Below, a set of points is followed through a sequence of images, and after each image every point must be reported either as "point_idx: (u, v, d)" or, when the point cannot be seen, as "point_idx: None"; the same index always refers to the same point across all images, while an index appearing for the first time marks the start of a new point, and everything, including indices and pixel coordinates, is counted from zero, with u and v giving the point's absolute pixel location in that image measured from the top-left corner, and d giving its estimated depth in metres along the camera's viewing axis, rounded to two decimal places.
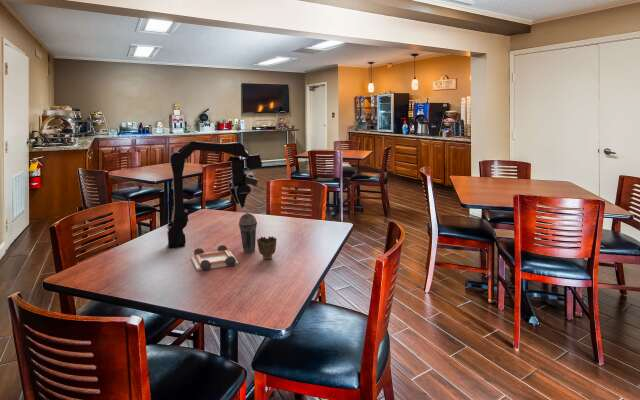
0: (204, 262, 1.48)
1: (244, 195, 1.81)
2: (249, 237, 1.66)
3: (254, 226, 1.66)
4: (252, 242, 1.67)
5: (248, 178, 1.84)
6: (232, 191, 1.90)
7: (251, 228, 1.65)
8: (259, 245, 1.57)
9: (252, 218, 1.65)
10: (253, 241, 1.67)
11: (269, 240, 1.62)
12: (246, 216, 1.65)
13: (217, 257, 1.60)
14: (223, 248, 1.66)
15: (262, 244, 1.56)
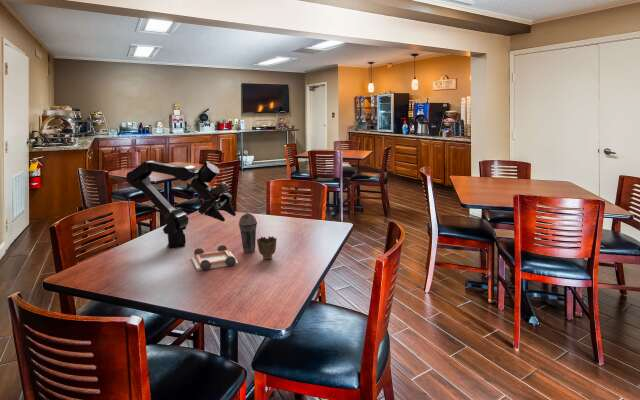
0: (204, 262, 1.48)
1: (214, 210, 1.63)
2: (249, 237, 1.66)
3: (254, 226, 1.66)
4: (252, 242, 1.67)
5: (212, 190, 1.66)
6: (223, 208, 1.75)
7: (251, 228, 1.65)
8: (259, 245, 1.57)
9: (252, 218, 1.65)
10: (253, 241, 1.67)
11: (269, 240, 1.62)
12: (246, 216, 1.65)
13: (217, 257, 1.60)
14: (223, 248, 1.66)
15: (262, 244, 1.56)
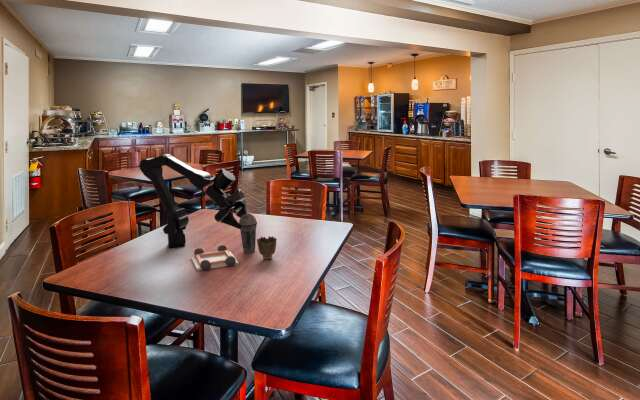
0: (204, 262, 1.48)
1: (230, 217, 1.62)
2: (249, 237, 1.66)
3: (254, 226, 1.66)
4: (252, 242, 1.67)
5: (227, 197, 1.65)
6: (238, 215, 1.73)
7: (251, 228, 1.65)
8: (259, 245, 1.57)
9: (252, 218, 1.65)
10: (253, 241, 1.67)
11: (269, 240, 1.62)
12: (246, 216, 1.65)
13: (217, 257, 1.60)
14: (223, 248, 1.66)
15: (262, 244, 1.56)
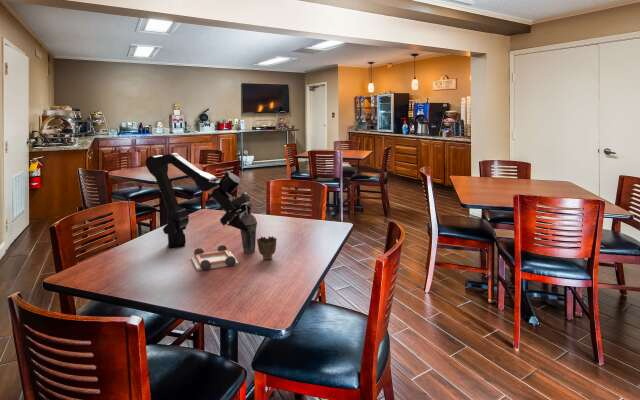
0: (204, 262, 1.48)
1: (237, 220, 1.62)
2: (249, 237, 1.66)
3: (254, 226, 1.66)
4: (252, 242, 1.67)
5: (233, 201, 1.64)
6: None
7: (251, 228, 1.65)
8: (259, 245, 1.57)
9: (252, 218, 1.65)
10: (253, 241, 1.67)
11: (269, 240, 1.62)
12: (246, 216, 1.65)
13: (217, 257, 1.60)
14: (223, 248, 1.66)
15: (262, 244, 1.56)
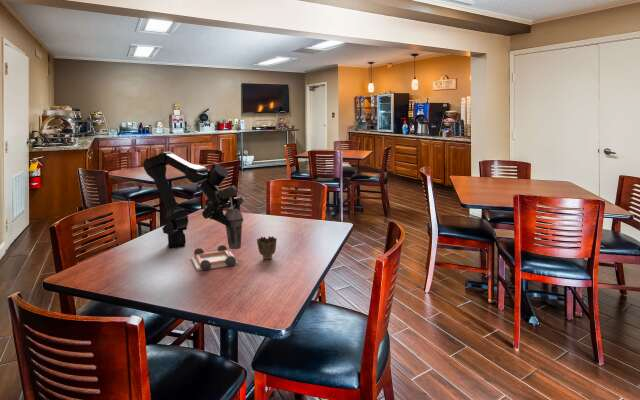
0: (204, 262, 1.48)
1: (219, 214, 1.57)
2: (233, 233, 1.59)
3: (238, 222, 1.59)
4: (237, 238, 1.60)
5: (219, 194, 1.59)
6: None
7: (235, 224, 1.58)
8: (259, 245, 1.57)
9: (236, 213, 1.58)
10: (237, 237, 1.60)
11: (269, 240, 1.62)
12: (230, 211, 1.59)
13: (217, 257, 1.60)
14: (223, 248, 1.66)
15: (262, 244, 1.56)
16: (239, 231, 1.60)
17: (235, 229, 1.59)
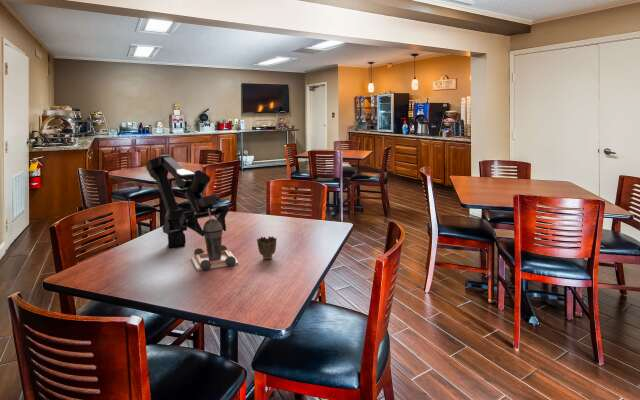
0: (204, 262, 1.48)
1: (194, 223, 1.52)
2: (210, 244, 1.54)
3: (215, 233, 1.53)
4: (214, 250, 1.55)
5: (198, 201, 1.55)
6: None
7: (211, 235, 1.53)
8: (259, 245, 1.57)
9: (213, 224, 1.53)
10: (215, 249, 1.55)
11: (269, 240, 1.62)
12: (208, 222, 1.54)
13: None
14: (223, 248, 1.66)
15: (262, 244, 1.56)
16: (217, 243, 1.55)
17: (212, 241, 1.54)
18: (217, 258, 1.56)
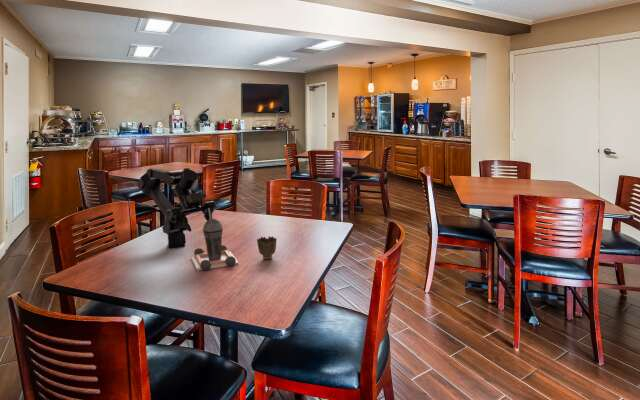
0: (204, 262, 1.48)
1: (181, 218, 1.59)
2: (210, 244, 1.54)
3: (215, 233, 1.53)
4: (214, 250, 1.55)
5: (186, 198, 1.62)
6: (205, 216, 1.68)
7: (211, 235, 1.53)
8: (259, 245, 1.57)
9: (213, 224, 1.53)
10: (215, 249, 1.55)
11: (269, 240, 1.62)
12: (208, 221, 1.54)
13: None
14: (223, 248, 1.66)
15: (262, 244, 1.56)
16: (217, 243, 1.55)
17: (212, 241, 1.54)
18: (217, 258, 1.56)
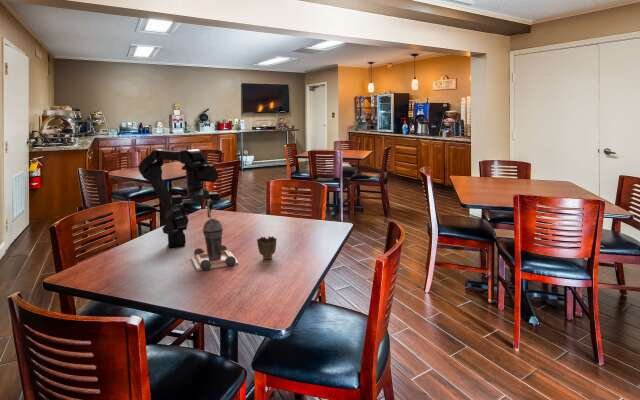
0: (204, 262, 1.48)
1: None
2: (210, 244, 1.54)
3: (215, 233, 1.53)
4: (214, 250, 1.55)
5: (190, 191, 1.64)
6: (207, 202, 1.73)
7: (211, 235, 1.53)
8: (259, 245, 1.57)
9: (213, 224, 1.53)
10: (215, 249, 1.55)
11: (269, 240, 1.62)
12: (208, 221, 1.54)
13: None
14: (223, 248, 1.66)
15: (262, 244, 1.56)
16: (217, 243, 1.55)
17: (212, 241, 1.54)
18: (217, 258, 1.56)
